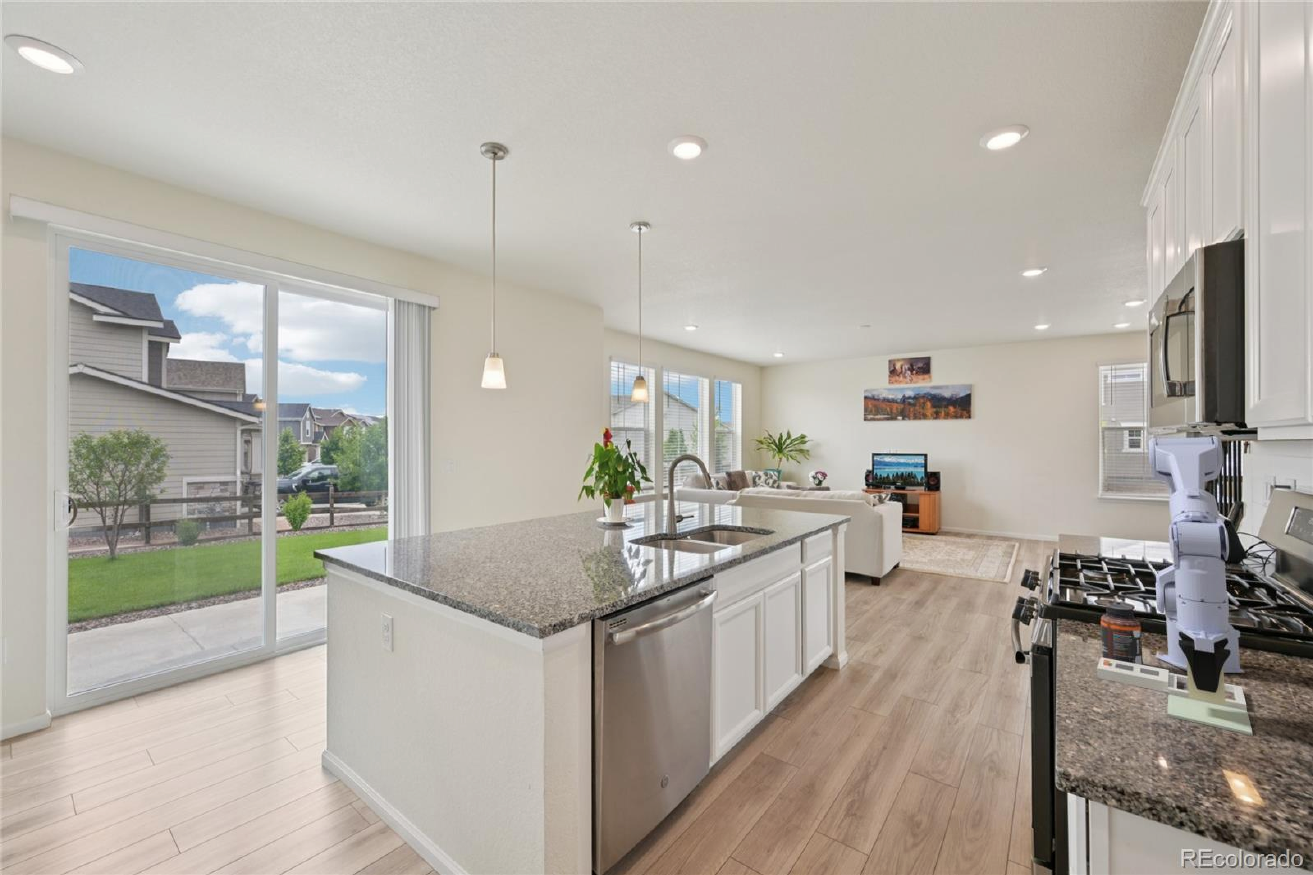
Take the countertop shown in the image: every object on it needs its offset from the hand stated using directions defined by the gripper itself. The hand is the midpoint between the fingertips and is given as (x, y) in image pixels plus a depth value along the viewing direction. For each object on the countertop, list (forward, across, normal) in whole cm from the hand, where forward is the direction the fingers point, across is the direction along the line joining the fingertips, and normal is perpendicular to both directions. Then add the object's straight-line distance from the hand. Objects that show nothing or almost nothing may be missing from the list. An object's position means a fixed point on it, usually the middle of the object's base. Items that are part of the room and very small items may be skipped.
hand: (1205, 685), depth 85 cm
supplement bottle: (+5, +17, +11) cm, 21 cm away
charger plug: (+2, 0, 0) cm, 2 cm away
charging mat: (+4, 0, 0) cm, 4 cm away
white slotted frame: (+4, +10, +5) cm, 12 cm away
